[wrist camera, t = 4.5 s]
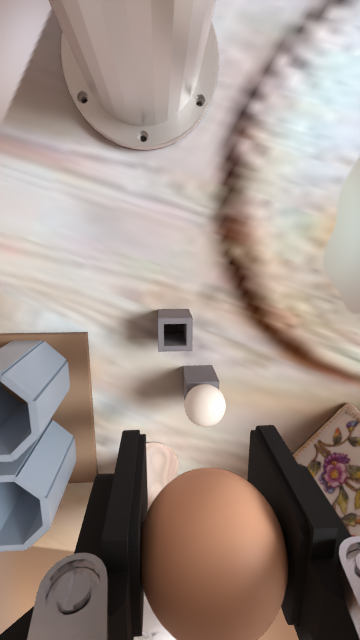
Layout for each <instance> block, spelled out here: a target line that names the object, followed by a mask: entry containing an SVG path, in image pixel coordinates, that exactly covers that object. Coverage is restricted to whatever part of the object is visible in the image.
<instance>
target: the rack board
mask: <svg viewBox="0 0 360 640" xmlns="http://www.w3.org/2000/svg"><path fill="white" fill-rule="evenodd" d="M25 340H42V343H43V342H44V341H45V342H46V343H47V344H49V345H50V346H51V347H52V348H53V349H55V350H56V351H57V352H58V353H59V354H61V355H62V356H63V357H64V358H65V359H67V360H66V361H65V362H68V369H69V380H70V388H69V391H68V392H67V394H66V396H65V397H64V399H63V400H62V402H61V403H60V405H59V406H58V408H57V410H56V411H55V413H54V414H53V416H52V417H51V421H52V420H54V421H55V422H56V423H57V424H59V425H60V426H61V427H63V428H64V429H65V430H66V431H68V432H69V433H70V434H72V435H73V438H75V448H76V460H77V461H76V463H75V466H74V468H73V471H72V474H71V476H70V479H69V481H68V483H81V482H94V480H95V477H96V475H97V474H98V473H97V459H96V445H95V431H94V416H93V402H92V388H91V374H90V360H89V346H88V332H71V333H11V334H0V348H1V347H3V346H5V345H6V344H8V343H9V342H12V341H25ZM1 386H2V389H4V390H5V391H6V392H8V393H9V394H10V395H11V396H13V397H14V398H15V399H17V400H18V401H19V402H21V403H22V404H28V402H26V401H25V400H24V399H22V398H21V397H20V396H19V395H17V394H16V393H15V392H13V391H12V390H11V389H10V388H8V387H7V386H6V385H4V384H3V383H2V382H1Z"/></svg>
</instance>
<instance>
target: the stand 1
mask: <svg viewBox="0 0 360 640" xmlns="http://www.w3.org/2000/svg"><path fill="white" fill-rule="evenodd" d="M192 323H193V318H192V316H191V314H190V311H189V309H158V352H167V351H192ZM164 324H183V334H164Z"/></svg>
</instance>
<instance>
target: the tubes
mask: <svg viewBox="0 0 360 640" xmlns="http://www.w3.org/2000/svg"><path fill="white" fill-rule="evenodd" d="M66 360H67V359H65V358H64V357H63V356H62V355H61V354H59V353H58V352H57V351H56V350H55V349H53V348H52V347H51V346H50V345H49V344H47V343H46V342H45V341H44V342H43V343H42V340H25V341H12V342H9V343H8V344H6V345H5V346H3V347H1V348H0V552H2V551H20V550H26V548H27V549H29V548H30V547H31V546H32V545H33V544H34V543H35V542H36V541H37V540H38V539H39V538H40V537H41V536H43V535H44V534H45V533H46V532H47V531H48V530H49V529H50V527H51V524H52V522H53V519H54V517H55V514H56V512H57V509H58V507H59V504H60V501H61V499H62V496H63V494H64V491H65V489H66V486H67V484H68V481H69V479H70V476H71V474H72V471H73V468H74V466H75V463H76V461H77V460H76V448H75V438H73V435H72V434H70V433H69V432H68V431H66V430H65V429H64V428H63V427H61V426H60V425H59V424H57V423H56V422H55V421H54V420H52V421H51V417H52V416H53V414H54V413H55V411H56V410H57V408H58V406H59V405H60V403H61V402H62V400H63V399H64V397H65V396H66V394H67V392H68V391H69V388H70V380H69V369H68V362H65V361H66ZM1 382H2V383H3V384H4V385H6V386H7V387H8V388H10V389H11V390H12V391H13V392H15V393H16V394H17V395H19V396H20V397H21V398H22V399H24V400H25V401H26V402H28V404H22V403H21V402H19V401H18V400H17V399H15V398H14V397H13V396H11V395H10V394H9V393H8V392H6V391H5V390H4V389H2V386H1Z"/></svg>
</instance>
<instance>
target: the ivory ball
mask: <svg viewBox="0 0 360 640" xmlns="http://www.w3.org/2000/svg"><path fill="white" fill-rule="evenodd" d="M184 407H185V412H186V415H187V416H188V418H189V419H190V420H191V421H192V422H193V423H194V424H196V425H198V426H202V427H209V426H212V425H215V424H216V423H218V422H219V421H220V420H221V419H222V417H223V415H224V413H225V408H226V403H225V399H224V397H223V395H222V393H221V392H220V391H219V390H218V389H217V388H216V387H214V386H212V385H208V384H201V385H198V386H195V387H194V388H192V389H191V390H190V391H189V392H188V394H187V396H186V398H185V403H184Z"/></svg>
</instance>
